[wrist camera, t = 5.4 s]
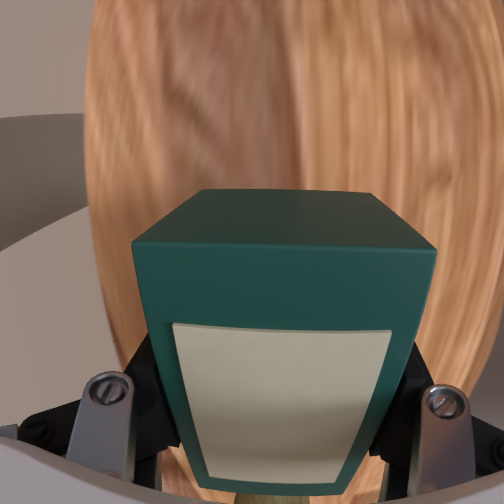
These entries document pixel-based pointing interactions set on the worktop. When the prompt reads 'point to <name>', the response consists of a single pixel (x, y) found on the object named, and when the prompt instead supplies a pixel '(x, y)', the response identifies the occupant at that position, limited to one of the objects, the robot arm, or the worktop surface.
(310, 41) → the worktop surface
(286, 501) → the fennel bulb
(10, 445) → the robot arm
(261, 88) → the worktop surface
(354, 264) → the tea packet
